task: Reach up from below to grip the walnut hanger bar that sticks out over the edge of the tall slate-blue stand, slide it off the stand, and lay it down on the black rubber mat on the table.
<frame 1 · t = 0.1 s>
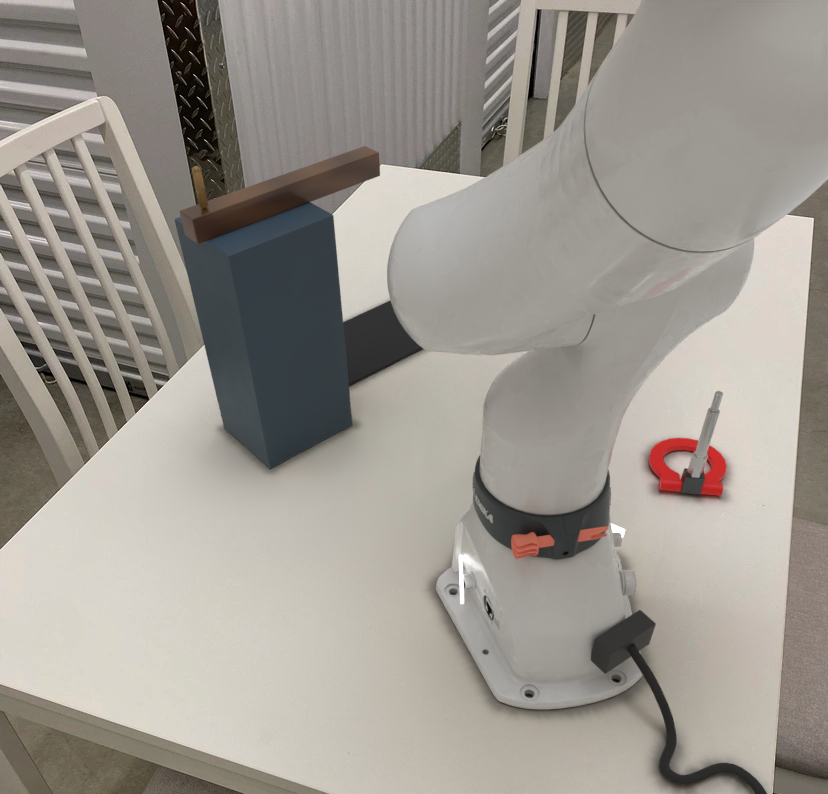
hanger bar: (287, 204, 81), point 26 cm above the table, touching stand
stand: (288, 426, 99), on the table
tow hook: (685, 470, 93), on the table
mat: (371, 341, 111), on the table
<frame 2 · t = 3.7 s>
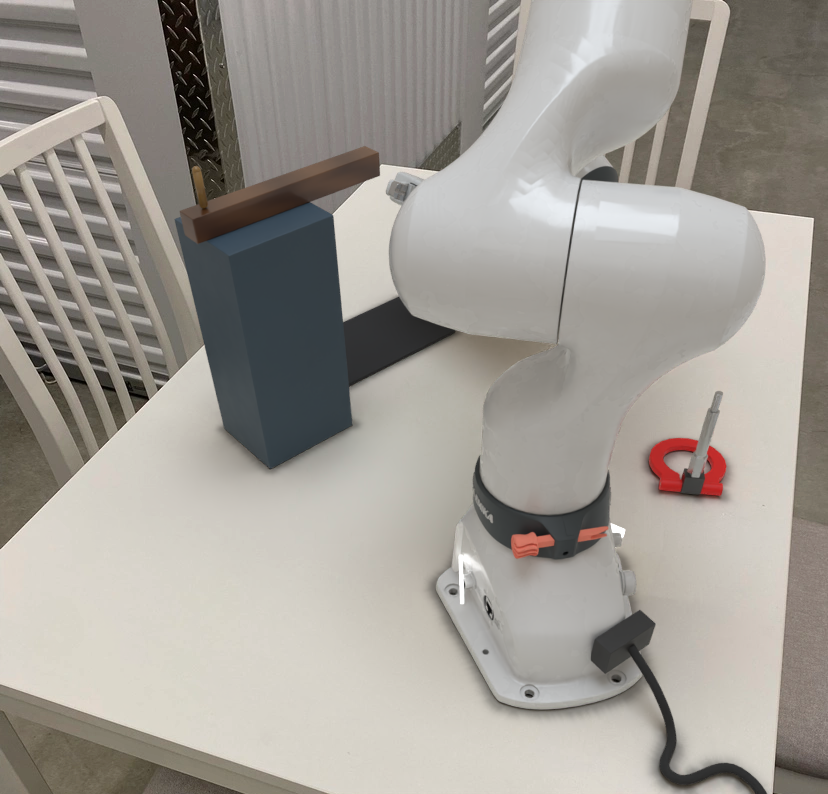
hand: (417, 201, 93), 21 cm above the table, tool pointing upward, fingers open, 8 cm apart
nothing on the table moved.
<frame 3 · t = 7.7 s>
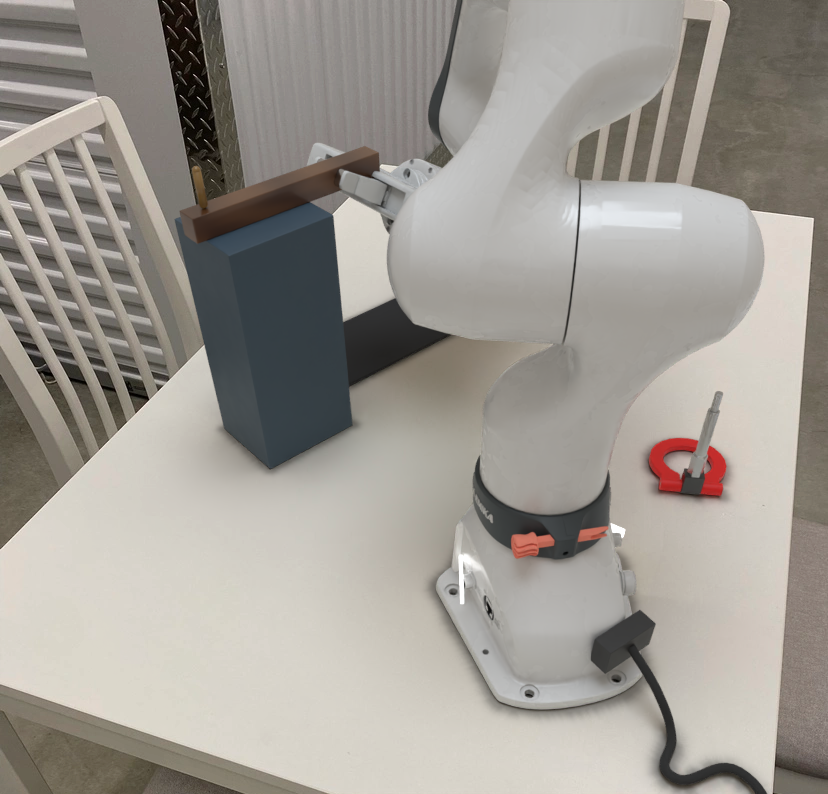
hand: (328, 172, 83), 28 cm above the table, tool pointing upward, fingers closed on hanger bar, 2 cm apart
hanger bar: (287, 204, 82), point 26 cm above the table, touching gripper, stand
everything else where it was.
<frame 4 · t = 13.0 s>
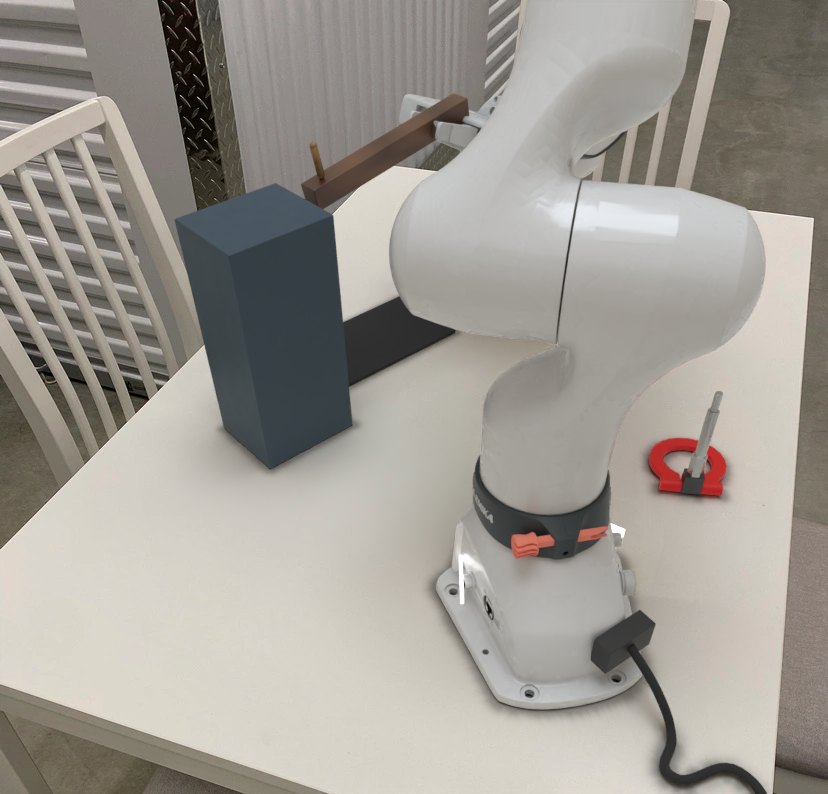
hand: (423, 125, 90), 28 cm above the table, tool pointing upward, fingers closed on hanger bar, 2 cm apart
hanger bar: (390, 161, 90), point 25 cm above the table, tilted 10°, touching gripper
everything else where it was.
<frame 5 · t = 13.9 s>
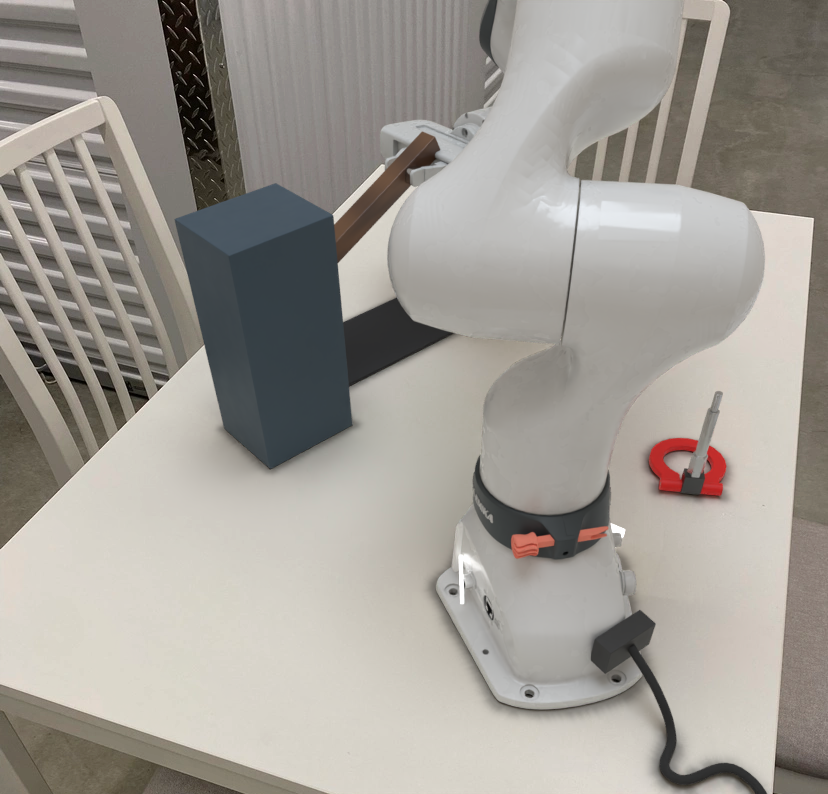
hand: (398, 173, 97), 21 cm above the table, tool horizontal, fingers closed on hanger bar, 2 cm apart
hanger bar: (374, 215, 98), point 18 cm above the table, tilted 27°, touching gripper
everything else where it was.
when the fingers open (6 cm above the table, at t = 18.3 s): hanger bar drops 3 cm, resting on mat.
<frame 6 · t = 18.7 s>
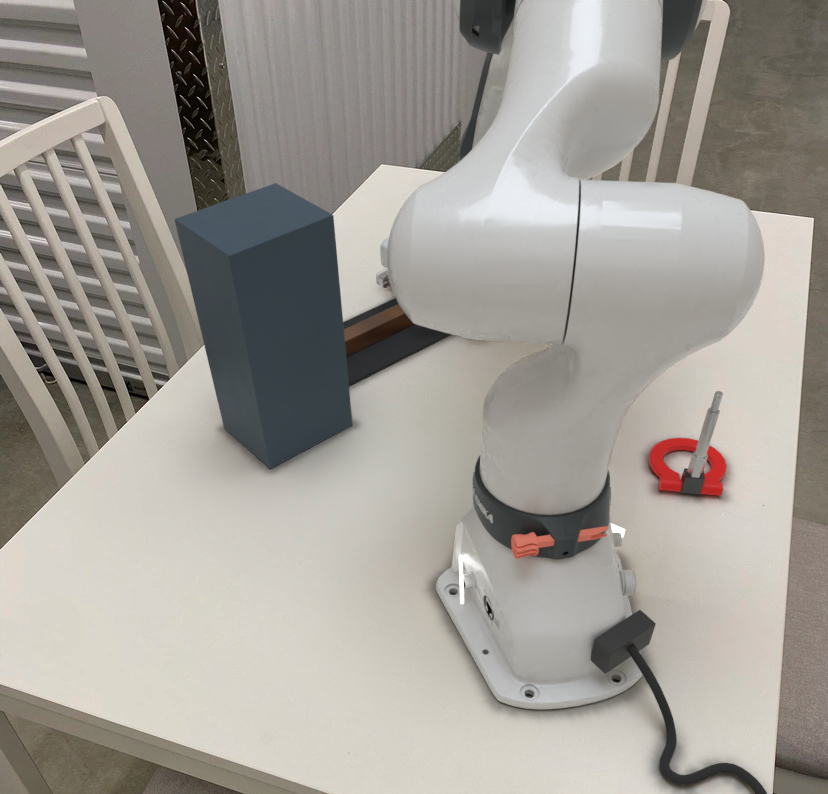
hand: (397, 291, 109), 6 cm above the table, tool horizontal, fingers open, 6 cm apart
hanger bar: (375, 336, 111), resting on mat
everything else where it was.
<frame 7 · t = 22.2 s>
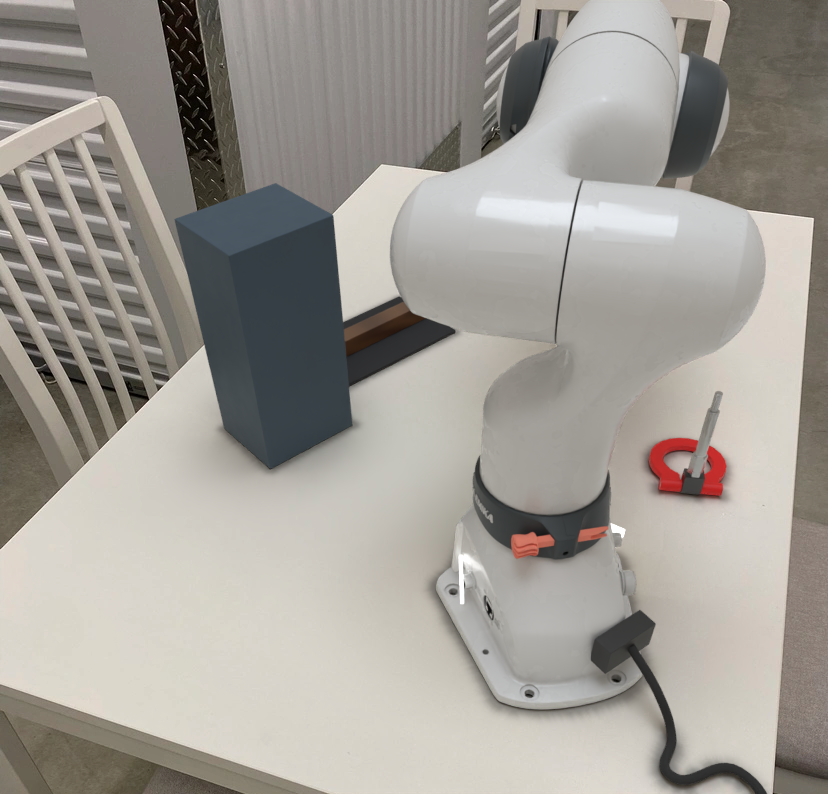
hand: (467, 260, 115), 5 cm above the table, tool horizontal, fingers open, 8 cm apart
nothing on the table moved.
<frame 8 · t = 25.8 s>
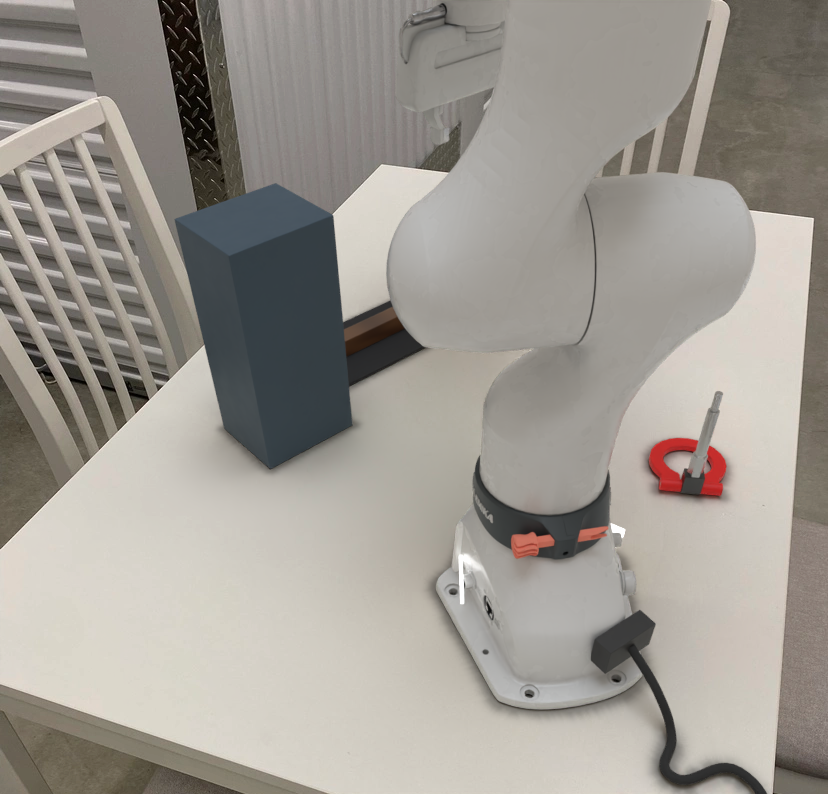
hand: (469, 131, 98), 24 cm above the table, tool pointing down, fingers open, 8 cm apart
nothing on the table moved.
at the end: hanger bar inside the target area on the mat (0.9 cm from its centre), point 0.4 cm above the mat's base; the gripper is holding nothing; hanger bar moved 31.0 cm from its start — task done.
